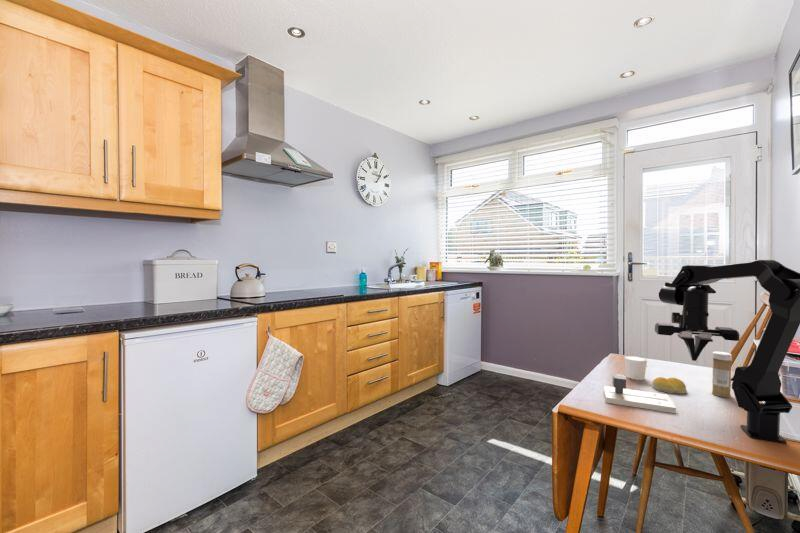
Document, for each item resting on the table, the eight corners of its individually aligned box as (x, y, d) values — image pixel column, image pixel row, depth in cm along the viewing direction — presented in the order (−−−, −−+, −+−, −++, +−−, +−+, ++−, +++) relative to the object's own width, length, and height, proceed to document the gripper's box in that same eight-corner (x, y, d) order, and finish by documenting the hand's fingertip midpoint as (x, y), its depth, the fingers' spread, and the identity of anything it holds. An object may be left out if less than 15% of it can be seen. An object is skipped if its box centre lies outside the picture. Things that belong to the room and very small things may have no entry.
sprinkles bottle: (732, 395, 115) (734, 353, 115) (727, 399, 112) (729, 355, 112) (714, 391, 119) (715, 350, 118) (709, 394, 116) (710, 352, 116)
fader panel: (676, 413, 102) (676, 407, 102) (606, 402, 109) (606, 397, 109) (667, 399, 112) (667, 394, 112) (603, 390, 119) (603, 385, 119)
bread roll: (648, 384, 126) (648, 373, 125) (679, 387, 123) (679, 375, 123) (657, 393, 118) (658, 380, 118) (691, 396, 115) (691, 383, 115)
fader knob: (625, 395, 110) (626, 379, 110) (613, 393, 111) (613, 377, 111) (624, 390, 114) (624, 375, 114) (612, 388, 115) (612, 373, 115)
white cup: (627, 379, 130) (627, 359, 130) (621, 373, 137) (621, 354, 136) (649, 381, 128) (649, 361, 128) (642, 375, 135) (643, 356, 134)
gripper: (726, 306, 111) (724, 357, 111) (652, 302, 119) (651, 350, 119) (741, 311, 101) (739, 367, 101) (658, 306, 109) (657, 359, 109)
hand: (693, 360), depth 108 cm, fingers closed
